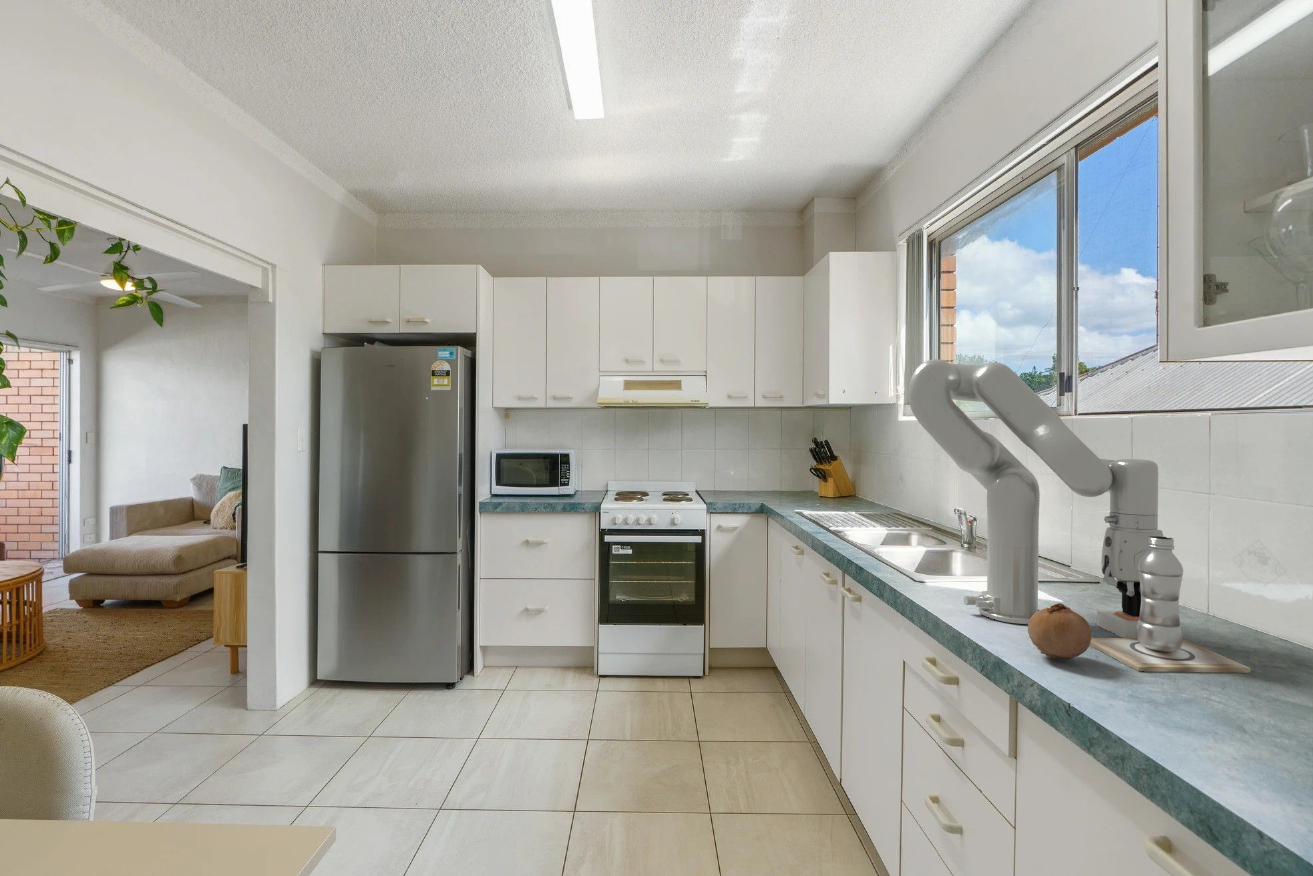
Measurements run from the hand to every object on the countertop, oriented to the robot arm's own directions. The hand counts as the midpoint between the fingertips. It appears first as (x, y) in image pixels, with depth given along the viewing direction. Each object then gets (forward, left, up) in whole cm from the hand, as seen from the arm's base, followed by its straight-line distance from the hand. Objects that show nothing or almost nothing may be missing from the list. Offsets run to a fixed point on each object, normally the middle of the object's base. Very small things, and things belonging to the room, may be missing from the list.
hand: (1132, 614), depth 123 cm
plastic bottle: (-4, -12, -3) cm, 13 cm away
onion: (-23, -15, -4) cm, 28 cm away
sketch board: (-4, -13, -4) cm, 14 cm away
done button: (0, 0, -3) cm, 3 cm away
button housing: (0, 0, -4) cm, 4 cm away
